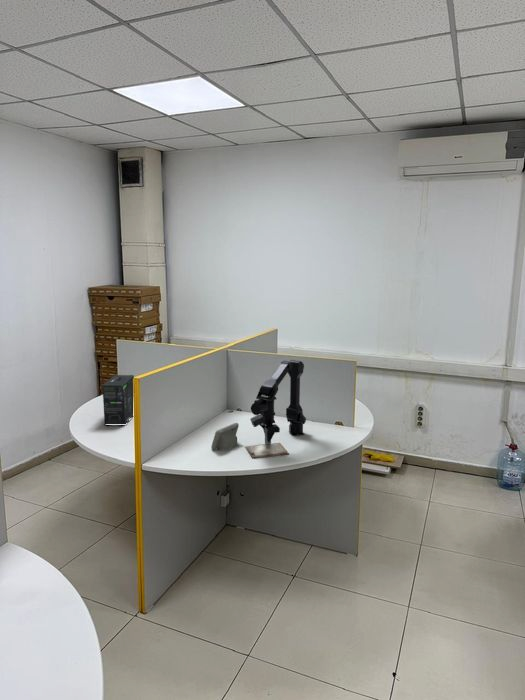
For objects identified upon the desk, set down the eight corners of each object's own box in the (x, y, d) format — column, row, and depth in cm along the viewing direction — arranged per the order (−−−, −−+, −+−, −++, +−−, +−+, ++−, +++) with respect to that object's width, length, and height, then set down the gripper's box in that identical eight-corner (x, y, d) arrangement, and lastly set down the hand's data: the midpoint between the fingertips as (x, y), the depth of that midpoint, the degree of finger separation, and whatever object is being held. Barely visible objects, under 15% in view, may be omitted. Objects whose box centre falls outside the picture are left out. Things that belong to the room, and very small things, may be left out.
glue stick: (270, 443, 237) (270, 425, 236) (271, 445, 234) (272, 427, 233) (263, 443, 236) (263, 426, 235) (265, 446, 233) (265, 428, 232)
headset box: (125, 426, 267) (123, 381, 262) (104, 426, 267) (101, 380, 262) (136, 413, 289) (134, 371, 284) (116, 413, 289) (114, 371, 284)
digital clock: (233, 439, 247) (232, 420, 245) (244, 444, 240) (244, 424, 238) (207, 448, 236) (206, 427, 234) (218, 453, 230) (217, 432, 228)
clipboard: (279, 443, 242) (279, 440, 241) (289, 454, 228) (289, 451, 228) (245, 447, 237) (245, 444, 236) (252, 458, 223) (252, 455, 223)
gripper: (247, 405, 239) (247, 435, 242) (257, 417, 221) (257, 449, 224) (268, 404, 242) (268, 433, 245) (280, 415, 224) (279, 447, 227)
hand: (267, 440), depth 235 cm, fingers closed on glue stick, 3 cm apart
